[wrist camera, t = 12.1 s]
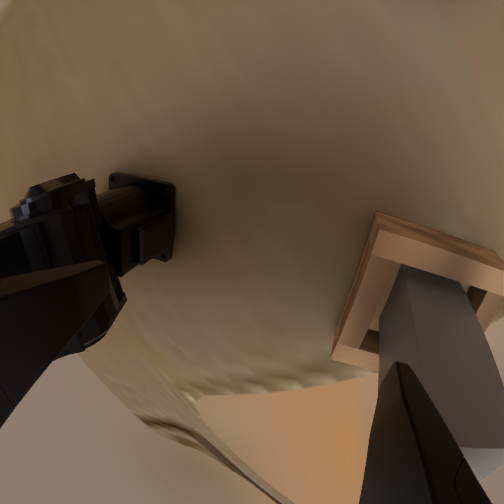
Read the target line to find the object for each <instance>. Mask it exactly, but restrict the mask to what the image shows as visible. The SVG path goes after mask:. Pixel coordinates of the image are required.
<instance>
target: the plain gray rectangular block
mask: <svg viewBox="0 0 504 504" xmlns="http://www.w3.org/2000/svg"><path fill="white" fill-rule="evenodd" d="M396 361H399V362H403V363H407V364H409V365H410V367H411V368H412V370H413V371H414V373H415V374H416V376H417V377H418V379H419V381H420V382H421V384H422V385H423V387H424V388H425V390H426V392H427V393H428V395H429V397H430V398H431V400H432V401H433V403H434V405H435V406H436V408H437V410H438V411H439V413H440V415H441V416H442V418H443V420H444V421H445V423H446V425H447V426H448V428H449V430H450V432H451V433H452V435H453V437H454V439H455V440H456V442H457V444H458V446H459V447H460V449H461V451H462V453H463V455H464V458H466V460H467V462H468V464H469V465H470V467H471V469H472V471H473V473H474V474H475V476H476V478H477V480H478V482H479V481H480V480H482V479H483V478H484V477H486V476H487V475H488V474H490V473H491V472H492V471H493V470H495V469H496V468H497V467H499V466H500V465H501V464H502V463H503V462H504V386H503V383H502V380H501V377H500V374H499V371H498V368H497V366H496V363H495V360H494V357H493V355H492V352H491V350H490V347H489V344H488V342H487V340H486V337H485V335H484V332H483V330H482V328H481V325H480V323H479V321H478V319H477V316H476V314H475V312H474V310H473V308H472V305H471V303H470V301H469V299H468V297H467V295H466V293H465V291H464V289H463V287H462V285H461V283H460V282H459V281H456V280H453V279H449V278H446V277H443V276H440V275H437V274H434V273H431V272H427V271H424V270H421V269H418V268H414V267H411V266H408V265H405V264H401V266H400V269H399V272H398V274H397V277H396V279H395V282H394V284H393V287H392V289H391V292H390V294H389V297H388V299H387V301H386V304H385V306H384V308H383V311H382V313H381V315H380V317H379V381H378V394H379V389H380V385H381V383H382V381H383V379H384V377H385V376H386V374H387V372H388V371H389V369H390V368H391V366H392V364H393V363H394V362H396Z"/></svg>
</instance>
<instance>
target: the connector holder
mask: <svg viewBox="0 0 504 504" xmlns="http://www.w3.org/2000/svg"><path fill="white" fill-rule="evenodd" d="M401 264H405V265H408V266H411V267H414V268H418V269H421V270H424V271H427V272H431V273H434V274H437V275H440V276H443V277H446V278H449V279H453V280H456V281H459V282H460V283H461V285H462V287H463V289H464V291H465V293H466V295H467V297H468V299H469V301H470V303H471V305H472V308H473V310H474V312H475V314H476V316H477V319H478V321H479V323H480V325H481V328H482V330H483V332H485V331H486V329H487V327H488V326H489V324H490V322H491V321H492V319H493V317H494V315H495V314H496V312H497V310H498V308H499V306H500V304H501V302H502V301H503V299H504V262H503V260H502V259H501V258H500V257H499V256H498V255H497V253H496V252H493V251H491V250H488V249H485V248H483V247H480V246H477V245H475V244H472V243H469V242H467V241H464V240H461V239H458V238H456V237H453V236H450V235H447V234H444V233H442V232H439V231H436V230H433V229H430V228H427V227H424V226H421V225H418V224H415V223H412V222H409V221H406V220H402V219H399V218H396V217H393V216H390V215H386V214H383V213H380V212H376V213H375V217H374V220H373V223H372V227H371V230H370V233H369V236H368V240H367V243H366V246H365V249H364V252H363V255H362V258H361V261H360V264H359V267H358V270H357V273H356V276H355V279H354V282H353V284H352V287H351V290H350V293H349V296H348V298H347V301H346V304H345V306H344V309H343V312H342V314H341V317H340V319H339V322H338V324H337V327H336V330H335V336H334V342H333V347H332V352H331V357H330V359H332V360H335V361H339V362H343V363H346V364H350V365H354V366H357V367H361V368H365V369H369V370H373V371H377V372H379V317H380V315H381V313H382V311H383V308H384V306H385V304H386V301H387V299H388V297H389V294H390V292H391V289H392V287H393V284H394V282H395V279H396V277H397V274H398V272H399V269H400V266H401Z"/></svg>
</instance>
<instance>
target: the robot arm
mask: <svg viewBox="0 0 504 504" xmlns="http://www.w3.org/2000/svg"><path fill="white" fill-rule="evenodd" d="M114 177H115V180H114ZM94 187H96V186H95V181H94V179H91V180H87V181H85V178H84V179H80V178H79V177H78V176H77V175H76V174H75V173H72V174H69V175H66V176H63V177H60V178H56V179H53V180H50V181H47V182H44V183H41V184H38V185H35V186H32V187H30V188H29V190H28V191H27V193H26V195H25V197H24V199H22V200H20V201H19V204H18V205H16V206H14V207H12V208H10V209H9V211H10V215H11V220H8V221H6V222H3V223H1V224H0V428H1V427H2V425H3V424H4V423H5V421H6V420H7V419H8V417H9V416H10V414H11V413H12V412H13V410H14V409H15V407H16V406H17V405H18V404H19V402H20V401H21V400H22V399H23V397H24V396H25V395H26V393H27V392H28V390H30V388H31V387H32V386H33V385H34V383H35V382H36V381H37V380H38V378H39V377H40V376H41V375H42V373H43V372H44V371H45V370H46V369H47V367H48V366H49V365H50V364H51V363H52V361H54V360H56V359H58V358H61V357H64V356H66V355H69V354H73V353H79V352H83V351H85V349H86V348H88V347H90V346H92V345H94V344H95V343H97V342H98V341H100V340H101V339H102V338H103V337H104V336H105V335H106V333H107V332H108V331H109V329H110V327H111V325H112V324H113V322H114V320H115V319H116V317H117V315H118V314H119V312H120V311H121V309H122V307H123V306H124V304H125V303H126V301H127V298H126V295H125V293H124V292H123V290H122V287H121V284H120V281H119V278H118V276H119V277H122V276H123V275H125V274H126V273H128V272H129V271H130V270H132V269H133V268H135V267H136V266H137V265H144V264H145V263H146V262H148V261H149V260H150V259H152V258H154V259H157V260H160V261H163V262H167V261H169V260H170V259H171V257H172V244H173V239H174V218H175V215H174V197H175V188H174V186H173V185H172V184H170V183H166V182H162V181H157V180H152V179H147V178H142V177H137V176H132V175H127V174H122V173H117V172H116V173H112V174H110V176H109V191H106V192H103V193H101V194H98V195H96V192H95V188H94ZM167 188H168V189H169V193H168V192H167ZM164 254H165V255H166V257H165V255H164ZM359 504H492V503H491V501H490V499H489V498H488V496H487V495H486V493H485V491H484V490H483V488H482V486H481V485H480V484H479V482H478V480H477V478H476V476H475V474H474V473H473V471H472V469H471V467H470V465H469V464H468V462H467V460H466V458H464V455H463V453H462V451H461V449H460V447H459V446H458V444H457V442H456V440H455V439H454V437H453V435H452V433H451V432H450V430H449V428H448V426H447V425H446V423H445V421H444V420H443V418H442V416H441V415H440V413H439V411H438V410H437V408H436V406H435V405H434V403H433V401H432V400H431V398H430V397H429V395H428V393H427V392H426V390H425V388H424V387H423V385H422V384H421V382H420V381H419V379H418V377H417V376H416V374H415V373H414V371H413V370H412V368H411V367H410V365H409V364H407V363H403V362H399V361H396V362H394V363H393V364H392V366H391V368H390V369H389V371H388V372H387V374H386V376H385V377H384V379H383V381H382V383H381V385H380V389H379V394H378V399H377V405H376V409H375V414H374V418H373V423H372V427H371V432H370V438H369V445H368V452H367V459H366V466H365V473H364V479H363V484H362V490H361V496H360V501H359Z"/></svg>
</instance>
